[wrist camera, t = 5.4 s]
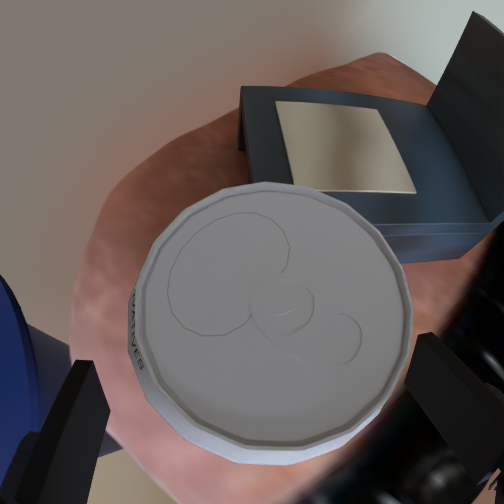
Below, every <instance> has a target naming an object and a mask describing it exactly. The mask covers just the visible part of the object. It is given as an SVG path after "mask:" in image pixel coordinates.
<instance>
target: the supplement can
mask: <svg viewBox="0 0 504 504" xmlns="http://www.w3.org/2000/svg"><path fill="white" fill-rule="evenodd" d="M413 314H414V309H413V304H412V300H411V296H410V292H409V289H408V285H407V281H406V277H405V274H404V270H403V267H402V265H401V264H400V262H399V261H398V259H397V257H396V256H395V254H394V253H393V251H392V250H391V248H390V246H389V245H388V243H387V242H386V240H385V239H384V237H383V236H382V234H381V233H380V231H379V230H377V229H376V228H375V227H374V226H373V225H372V224H370V223H369V222H368V221H367V220H366V219H365V218H363V217H362V216H361V215H360V214H359V213H357V212H356V211H355V210H354V209H353V208H351V207H350V206H349V205H348V204H346V203H344V202H342V201H339V200H337V199H335V198H333V197H330V196H328V195H326V194H324V193H321V192H319V191H317V190H314V189H312V188H310V187H306V186H298V185H290V184H282V183H274V182H260V183H254V184H248V185H242V186H236V187H230V188H225V189H222V190H220V191H218V192H216V193H214V194H212V195H210V196H208V197H206V198H204V199H203V200H201V201H199V202H197V203H195V204H193V205H191V206H189V207H187V208H186V209H184V210H183V211H182V212H181V213H180V214H179V215H178V216H177V217H176V219H175V220H174V221H173V222H172V223H171V224H170V225H169V226H168V227H167V228H166V229H165V230H164V231H163V232H162V233H161V235H160V236H159V237H158V238H157V239H156V240H155V241H154V243H153V245H152V247H151V250H150V252H149V254H148V256H147V258H146V259H145V262H144V264H143V267H142V269H141V271H140V274H139V276H138V279H137V281H136V284H135V286H134V289H133V291H132V294H131V296H130V299H129V302H128V353H129V355H130V358H131V361H132V364H133V366H134V369H135V372H136V374H137V377H138V379H139V382H140V384H141V387H142V389H143V392H144V394H145V397H146V399H147V401H148V402H149V403H150V404H151V405H152V406H153V407H154V408H155V409H156V411H157V412H158V413H159V414H160V415H161V416H162V417H163V418H164V419H165V420H166V421H167V422H168V423H169V424H170V425H171V426H172V427H173V428H174V430H175V431H176V432H177V433H178V434H179V435H180V436H181V437H182V438H183V439H184V440H186V441H188V442H190V443H192V444H194V445H196V446H199V447H201V448H203V449H205V450H207V451H209V452H212V453H214V454H216V455H218V456H221V457H223V458H225V459H228V460H230V461H233V462H235V463H245V464H266V465H293V464H296V463H299V462H302V461H305V460H307V459H310V458H313V457H316V456H319V455H321V454H324V453H327V452H329V451H332V450H335V449H337V448H340V447H342V446H343V445H344V444H345V443H346V442H348V441H349V440H350V439H351V438H352V437H354V436H355V435H356V434H357V433H358V432H359V431H360V430H361V429H363V428H364V427H365V426H366V425H367V424H368V423H369V422H370V421H371V420H372V419H374V418H375V417H376V416H377V415H378V414H379V412H380V411H381V409H382V407H383V405H384V403H385V401H386V400H387V399H388V398H389V397H390V396H391V394H392V392H393V390H394V388H395V386H396V384H397V381H398V379H399V377H400V375H401V373H402V371H403V369H404V367H405V365H406V362H407V360H408V358H409V356H410V349H411V339H412V328H413Z"/></svg>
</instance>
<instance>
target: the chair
mask: <svg viewBox="0 0 504 504" xmlns="http://www.w3.org/2000/svg"><path fill="white" fill-rule="evenodd" d="M237 144H238V150H246V154H247V162H248V171H249V179H250V184H254V183H260V182H274V183H282V184H290V185H298V186H306V187H310V188H312V189H314V190H317V191H319V192H321V193H324V194H326V195H328V196H330V197H333V198H335V199H337V200H339V201H342V202H344V203H346V204H348V205H349V206H350V207H351V208H353V209H354V210H355V211H356V212H357V213H359V214H360V215H361V216H362V217H363V218H365V219H366V220H367V221H368V222H369V223H370V224H372V225H373V226H374V227H375V228H376V229H377V230H379V231H380V233H381V234H382V236H383V237H384V239H385V240H386V242H387V243H388V245H389V246H390V248H391V250H392V251H393V253H394V254H395V256H396V257H397V259H398V261H399V262H400V263H412V262H424V261H436V260H447V259H458V258H461V257H462V256H463V255H464V254H465V253H467V252H468V251H469V250H470V249H472V248H473V247H474V246H475V245H476V244H477V243H479V242H480V241H481V240H482V239H483V238H484V237H486V236H487V235H488V234H489V233H490V232H491V231H492V230H493V229H495V228H496V227H497V226H498V225H499V224H500V223H501V222H502V221H504V33H503V32H502V31H501V30H500V29H498V28H497V27H496V26H495V25H494V24H492V23H491V22H490V21H489V20H487V19H486V18H485V17H484V16H482V15H480V14H478V13H476V12H474V11H473V12H472V14H471V16H470V18H469V21H468V23H467V25H466V27H465V29H464V32H463V34H462V36H461V38H460V40H459V42H458V44H457V46H456V49H455V51H454V53H453V55H452V57H451V59H450V61H449V63H448V65H447V67H446V69H445V71H444V73H443V75H442V77H441V79H440V81H439V83H438V85H437V86H436V88H435V90H434V92H433V94H432V96H431V98H430V100H429V102H428V103H427V105H422V104H417V103H412V102H407V101H402V100H397V99H391V98H385V97H379V96H372V95H365V94H358V93H350V92H341V91H332V90H321V89H309V88H294V87H273V86H241V91H240V104H239V118H238V133H237Z"/></svg>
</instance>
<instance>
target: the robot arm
mask: <svg viewBox="0 0 504 504" xmlns="http://www.w3.org/2000/svg"><path fill="white" fill-rule="evenodd" d="M404 385H405V386H406V387H407V389H408V390H409V391H410V393H411V394H412V395H413V397H414V398H415V399H416V401H417V402H418V403H419V405H420V406H421V408H422V409H423V410H424V412H425V413H426V414H427V416H428V417H429V419H430V420H431V421H432V423H433V424H434V426H435V427H436V428H437V430H438V431H439V433H440V434H441V435H442V437H443V438H444V440H445V441H446V442H447V444H448V445H449V447H450V448H451V450H452V451H453V452H454V454H455V455H456V457H457V458H458V460H459V461H460V462H461V464H462V465H463V467H464V468H465V470H466V471H467V473H468V474H469V476H470V477H471V479H472V480H473V482H474V483H475V485H476V486H477V485H479V484H480V483H482V482H484V481H485V480H487V479H489V478H490V477H491V476H492V475H493V474H494V472H495V471H496V470H497V468H499V469H500V471H501V472H500V474H499V475H498V476H497V477H496V479H495V480H494V481H493V482H492V483H491V484H490V486H489V489H488V490H491V489H492V488H493V486H494V485H495V484H496V483H497V486H496V487H495V489H494V490H496V497H495V504H504V395H503V394H502V392H501V391H500V390H499V389H498V388H496V387H494V386H492V385H490V384H489V383H486V384H484V383H483V382H482V381H481V380H480V379H479V378H478V377H477V376H476V375H475V374H474V373H473V372H472V371H471V370H470V369H469V368H468V367H467V366H466V365H465V364H464V363H463V362H462V361H461V360H460V359H459V358H458V357H457V356H456V355H455V354H454V353H453V352H452V351H451V350H450V349H449V348H448V347H447V346H446V345H445V344H444V343H443V342H442V341H441V340H440V339H439V338H438V337H437V336H435V335H434V334H433V333H432V332H429V333H424V334H419V335H418V337H417V341H416V345H415V348H414V352H413V356H412V359H411V362H410V366H409V369H408V372H407V375H406V378H405V382H404ZM109 415H110V408H109V405H108V403H107V400H106V397H105V395H104V392H103V389H102V386H101V383H100V380H99V377H98V374H97V371H96V368H95V365H94V362H93V361H92V360H75V362H74V364H73V366H72V368H71V370H70V372H69V374H68V376H67V378H66V379H65V381H64V383H63V385H62V387H61V389H60V391H59V394H58V396H57V398H56V400H55V402H54V404H53V406H52V408H51V410H50V412H49V414H48V417H47V419H46V421H45V423H44V425H43V427H42V430H41V432H35V431H29V432H28V433H27V434H26V435H25V436H24V437H23V438H22V439H21V441H20V443H19V445H18V447H17V449H16V454H14V456H13V458H12V463H10V465H9V467H8V470H7V472H6V474H5V477H4V479H3V482H2V484H1V487H0V504H87V500H88V496H89V492H90V487H91V483H92V479H93V474H94V470H95V466H96V462H97V458H98V455H99V451H100V447H101V443H102V440H103V436H104V432H105V429H106V425H107V422H108V418H109Z"/></svg>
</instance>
